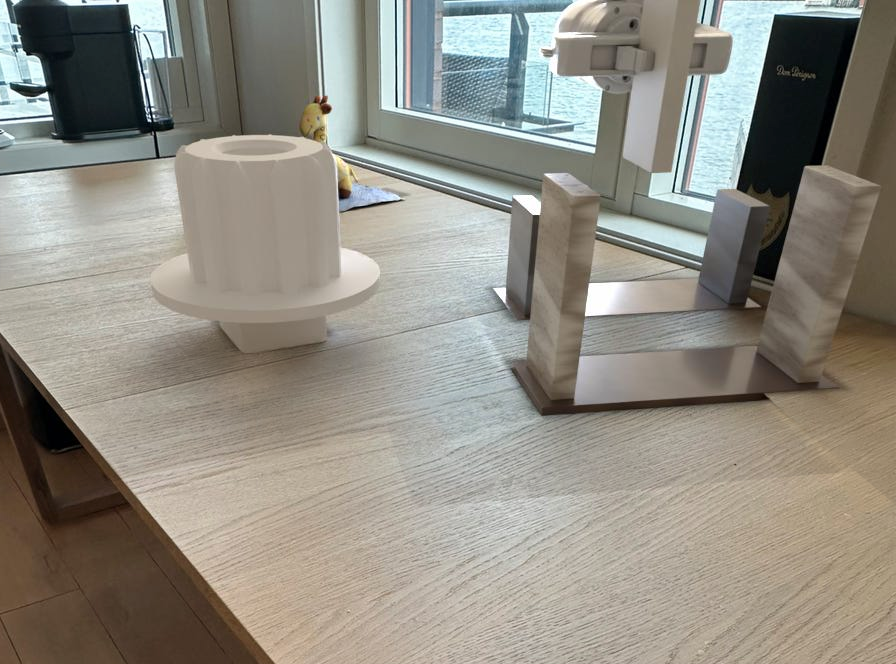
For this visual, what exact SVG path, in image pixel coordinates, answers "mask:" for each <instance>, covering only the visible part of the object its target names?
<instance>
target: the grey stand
mask: <svg viewBox="0 0 896 664" xmlns="http://www.w3.org/2000/svg"><path fill="white" fill-rule="evenodd" d="M540 206H541V201H539V200H538V199H537V198H535V197H534V196H533V195H530V194H529V195H512V196H511V208H510V209H511V210H510V223H509V239H508V251H507V252H508V253H507V266H506V267H507V268H506V280H505V281H506V282H505V287H493V288H492V290H493V291H494V292H495V293H496V295H497V297H499V299H500V300H501V302H502V303H503V304H504V305H505V307H506V308H507V309H508V310H509V312H510V313H511V315H512V316H513V317H514V318H515V320H516V321H530V316H531V305H532V294H533V283H534V272H535V261H536V250H537V239H538V228H539V217H540ZM712 208H713V209H712V213H711V218H710V222H709V227H708V232H707V236H706V242H705V247H704V251H703V256H702V259H701V260H702V261H701V265H700V270H699V275H698V277H697V278H679V279H678V278H677V279H657V280H655V279H654V280H637V281H636V280H635V281H615V282H594V283H593V282H592V283H589V290H588V298H587V305H586V313H585V318H586V317H587V318H589V317H606V316H622V315H623V316H624V315H642V314H660V313H662V314H663V313H678V312H679V313H681V312H697V311H700V312H701V311H717V310H718V311H719V310H737V309H753V308H762V306H761V305H760V304H759V303H757V302H755V300H753V299H751V298H750V297H749V293H750V290H751V285H752V282H753V278H754V273H755V271H756V270H755V269H756V264H757V263H758V257H759V252H760V249H761V246H762V245H761V244H762V241H763V237H764V234H765V233H764V232H765V230H766V225H767V221H768V217H769V212H770V208H771V205H768V204H767V203H765V202H763V201H761V200H758V199H757V198H755V197H752V196H750V195H748V194H747V193H745V192H743V191H741V190H738V189H736V188H718V189H717V190H716V194H715V198H714V203H713V207H712Z"/></svg>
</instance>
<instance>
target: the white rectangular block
mask: <svg viewBox="0 0 896 664" xmlns="http://www.w3.org/2000/svg"><path fill="white" fill-rule="evenodd" d="M700 6H701V0H644V3H643V10H642V18H641V25H640V32H639V37H640V44H638V47H637V49H641V50H651V51H655V60H654V68H653V70H652V71H642V72H639V71H636V75H635V76H633V84H632V91H630V98H629V106H628V114H627V120H626V128H625V129H626V130H625V136H624V143H623V151H622V158H623V159H625V160H627V161H629V162H631V163H632V164H635V165H636V166H638V167H640V168H641V169H643V170H645V171H647V172H648V173H650V174H665V173H672V170H673V167H674V166H673V165H674V159H675V152H676V147H677V142H678V135H679V131H680V123H681V117H682V113H683V107H684V101H685V94H686V89H687V83H688V77H689V76H688V71H689V66H690V60H691V54H692V48H693V42H694V36H695V30H696V24H697V23H698V16H699V13H700Z"/></svg>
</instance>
